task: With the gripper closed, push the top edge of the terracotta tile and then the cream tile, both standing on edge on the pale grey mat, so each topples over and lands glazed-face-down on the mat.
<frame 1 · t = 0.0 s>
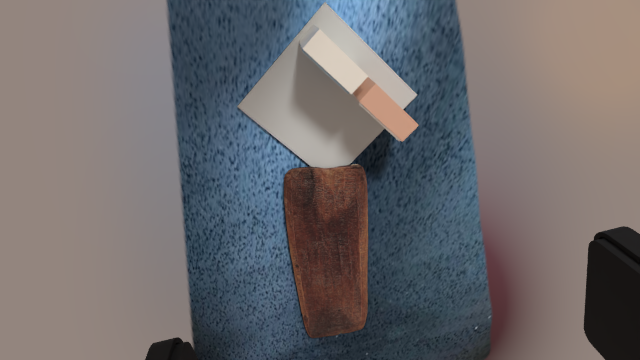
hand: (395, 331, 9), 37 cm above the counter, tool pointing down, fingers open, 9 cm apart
wooden tablet: (328, 255, 53), on the counter, touching grey mat
grey mat: (328, 100, 45), on the counter
cream tile: (326, 53, 42), resting on grey mat
terracotta tile: (373, 97, 45), resting on grey mat
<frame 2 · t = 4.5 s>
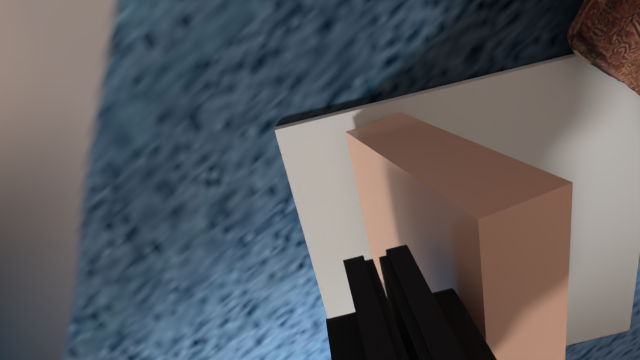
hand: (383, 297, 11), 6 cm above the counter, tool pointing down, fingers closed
grey mat: (477, 241, 17), on the counter
terracotta tile: (389, 196, 15), point 1 cm above the counter, tilted 13°, touching grey mat
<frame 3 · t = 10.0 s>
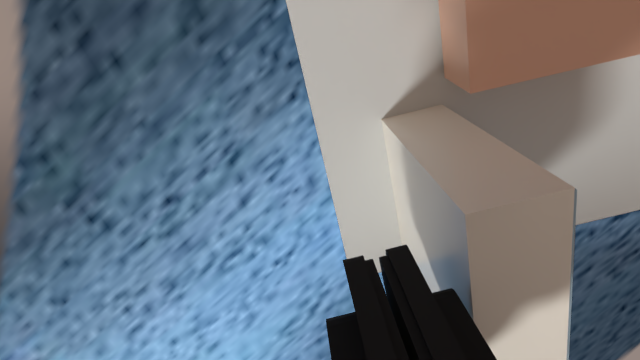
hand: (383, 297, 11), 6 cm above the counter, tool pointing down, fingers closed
grey mat: (505, 71, 14), on the counter
cream tile: (423, 186, 16), resting on grey mat, touching gripper
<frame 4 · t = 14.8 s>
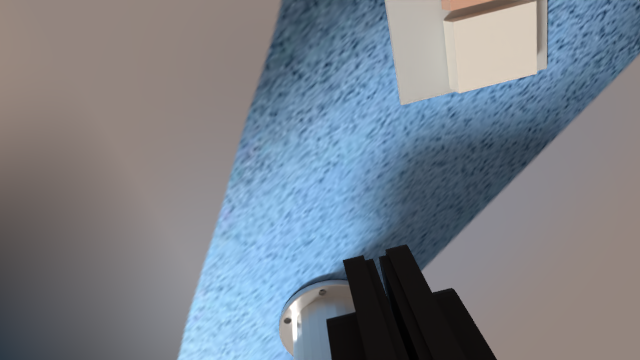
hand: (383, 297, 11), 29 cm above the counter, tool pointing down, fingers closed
grey mat: (466, 7, 36), on the counter
cream tile: (450, 57, 36), point 2 cm above the counter, tilted 90°, touching grey mat
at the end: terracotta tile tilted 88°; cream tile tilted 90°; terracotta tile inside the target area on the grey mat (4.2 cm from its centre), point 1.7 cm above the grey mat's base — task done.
